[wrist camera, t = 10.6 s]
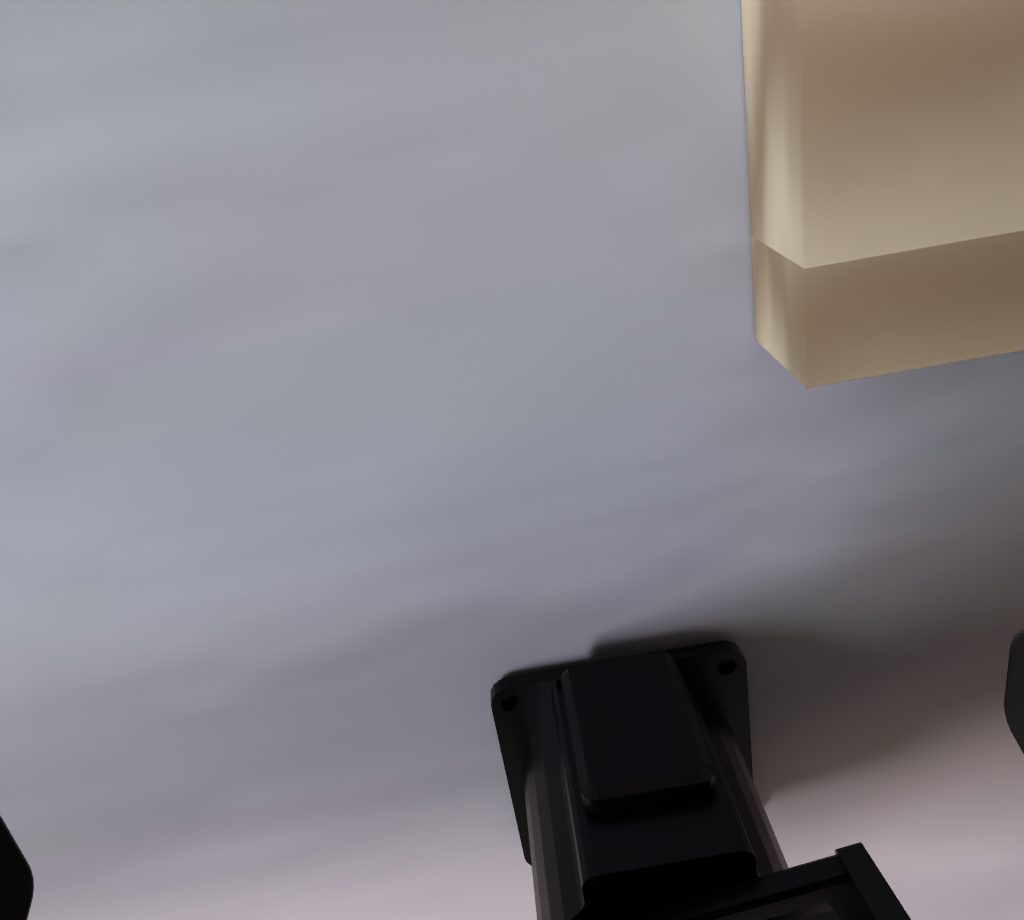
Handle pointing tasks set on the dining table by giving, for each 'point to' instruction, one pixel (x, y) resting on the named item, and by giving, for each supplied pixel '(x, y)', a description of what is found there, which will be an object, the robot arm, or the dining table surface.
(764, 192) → the socket block
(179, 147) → the dining table surface
